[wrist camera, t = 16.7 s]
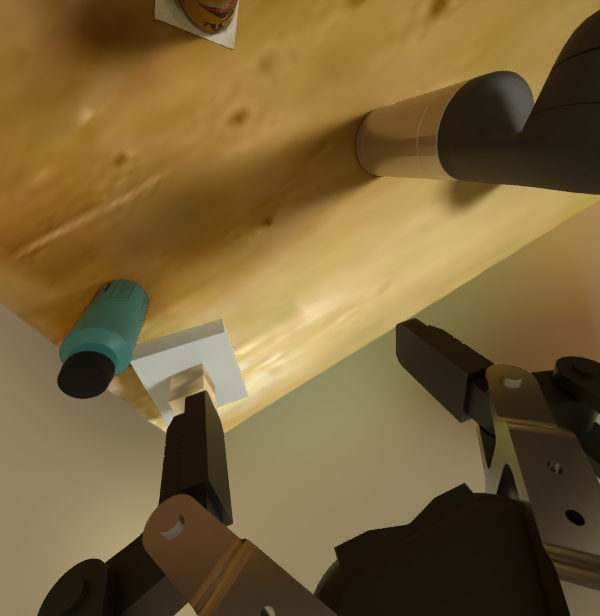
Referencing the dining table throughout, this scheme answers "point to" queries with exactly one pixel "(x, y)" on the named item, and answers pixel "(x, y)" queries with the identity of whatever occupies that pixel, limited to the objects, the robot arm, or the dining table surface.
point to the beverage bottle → (102, 339)
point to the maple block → (190, 386)
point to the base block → (189, 364)
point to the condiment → (202, 18)
